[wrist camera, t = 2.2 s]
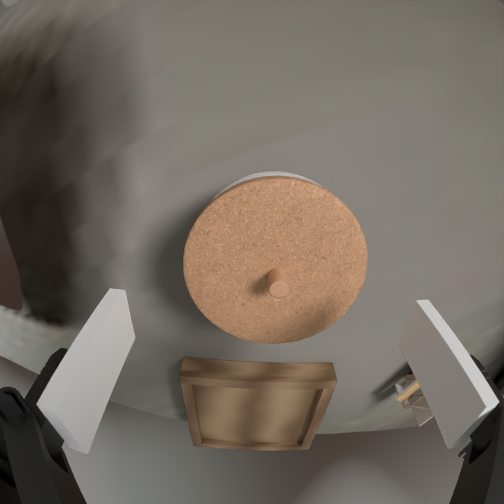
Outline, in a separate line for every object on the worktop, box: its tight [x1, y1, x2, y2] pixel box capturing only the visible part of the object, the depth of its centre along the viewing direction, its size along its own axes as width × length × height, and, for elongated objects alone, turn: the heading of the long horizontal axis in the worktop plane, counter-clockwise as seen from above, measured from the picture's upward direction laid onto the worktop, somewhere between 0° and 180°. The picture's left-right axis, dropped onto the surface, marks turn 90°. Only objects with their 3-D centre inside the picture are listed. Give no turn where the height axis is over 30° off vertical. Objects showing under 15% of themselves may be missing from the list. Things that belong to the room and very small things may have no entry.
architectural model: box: [394, 374, 433, 427], centre depth 28 cm, size 3×7×7 cm, turn 148°
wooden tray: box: [179, 357, 337, 451], centre depth 32 cm, size 16×16×3 cm
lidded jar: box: [183, 171, 368, 344], centre depth 19 cm, size 11×11×9 cm
